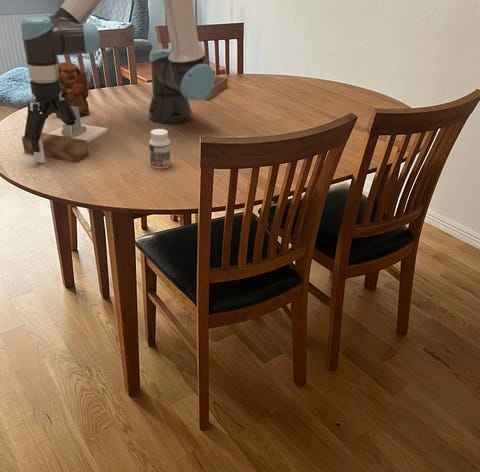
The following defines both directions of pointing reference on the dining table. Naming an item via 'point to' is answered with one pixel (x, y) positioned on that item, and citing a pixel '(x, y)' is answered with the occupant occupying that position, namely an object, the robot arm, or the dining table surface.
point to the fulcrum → (81, 129)
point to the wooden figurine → (74, 86)
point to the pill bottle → (160, 149)
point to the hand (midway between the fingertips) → (55, 153)
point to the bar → (60, 147)
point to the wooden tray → (217, 87)
